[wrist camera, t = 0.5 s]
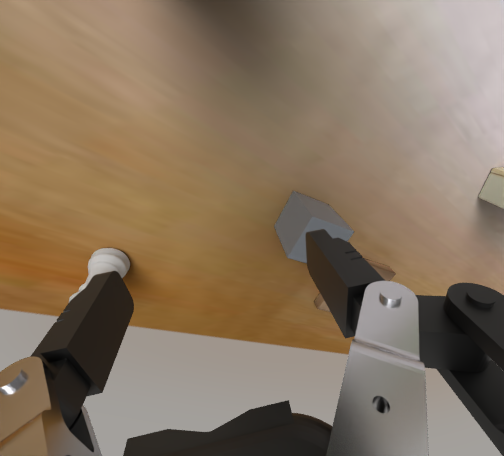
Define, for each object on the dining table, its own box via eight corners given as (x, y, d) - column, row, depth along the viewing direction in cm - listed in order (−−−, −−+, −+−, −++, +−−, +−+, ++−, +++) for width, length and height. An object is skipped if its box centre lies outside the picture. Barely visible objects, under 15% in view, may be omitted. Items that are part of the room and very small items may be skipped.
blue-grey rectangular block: (293, 190, 29) (312, 216, 23) (328, 204, 31) (354, 231, 25) (274, 226, 31) (287, 257, 26) (307, 237, 33) (327, 269, 27)
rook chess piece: (137, 269, 32) (116, 320, 25) (103, 277, 32) (72, 330, 25) (122, 242, 29) (94, 289, 23) (85, 249, 29) (46, 300, 22)
